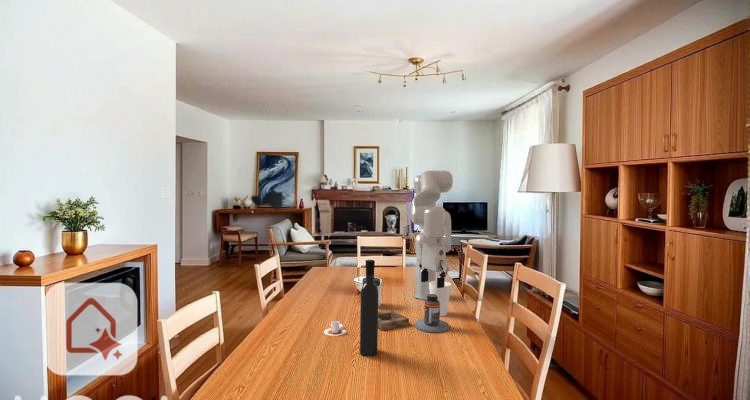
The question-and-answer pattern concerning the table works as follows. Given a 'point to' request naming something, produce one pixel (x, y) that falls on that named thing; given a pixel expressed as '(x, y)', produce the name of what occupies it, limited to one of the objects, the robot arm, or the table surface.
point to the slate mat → (431, 327)
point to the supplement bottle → (432, 310)
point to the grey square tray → (395, 321)
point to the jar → (377, 282)
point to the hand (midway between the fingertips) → (432, 284)
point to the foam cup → (441, 295)
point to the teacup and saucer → (335, 328)
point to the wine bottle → (369, 313)
